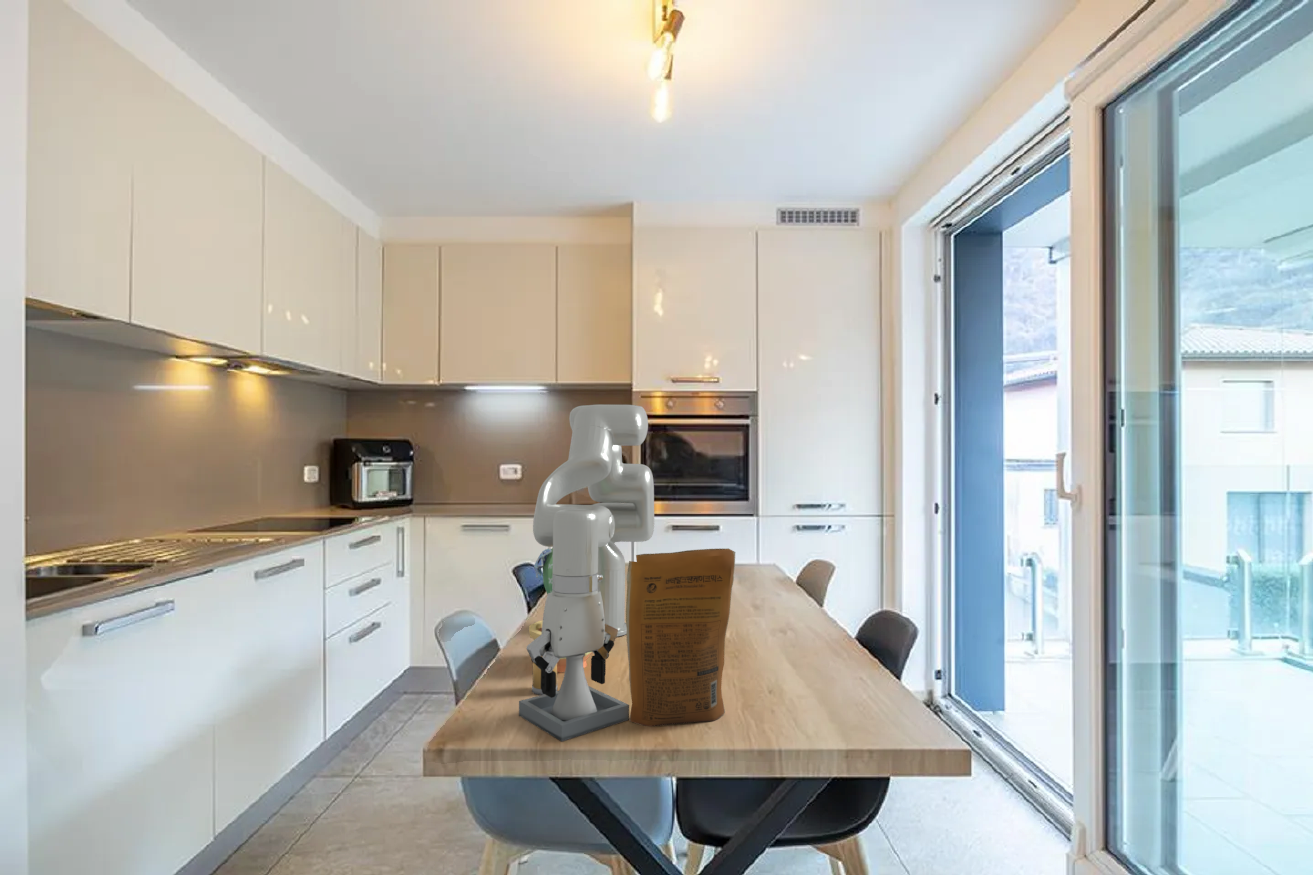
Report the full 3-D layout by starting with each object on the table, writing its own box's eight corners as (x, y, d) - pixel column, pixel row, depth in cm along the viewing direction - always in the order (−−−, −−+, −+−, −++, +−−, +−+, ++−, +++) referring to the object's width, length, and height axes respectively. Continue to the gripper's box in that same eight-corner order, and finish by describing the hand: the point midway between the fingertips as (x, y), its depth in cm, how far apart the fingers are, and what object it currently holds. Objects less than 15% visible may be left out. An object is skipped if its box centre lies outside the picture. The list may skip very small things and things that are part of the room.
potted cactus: (563, 649, 146) (565, 537, 147) (618, 662, 137) (619, 542, 138) (511, 667, 133) (513, 544, 134) (567, 683, 125) (568, 551, 125)
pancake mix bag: (742, 723, 106) (742, 550, 107) (626, 733, 102) (628, 553, 103) (728, 707, 113) (728, 544, 114) (618, 717, 108) (620, 547, 109)
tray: (518, 715, 109) (519, 700, 109) (583, 697, 117) (583, 683, 117) (561, 741, 99) (561, 725, 99) (629, 719, 107) (629, 704, 107)
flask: (572, 702, 113) (573, 644, 114) (604, 712, 109) (605, 651, 109) (542, 715, 107) (543, 654, 108) (575, 726, 103) (576, 662, 103)
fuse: (527, 689, 121) (527, 646, 121) (548, 684, 124) (549, 641, 124) (540, 696, 117) (540, 651, 118) (562, 690, 120) (562, 647, 121)
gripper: (603, 575, 117) (602, 671, 117) (517, 586, 106) (515, 693, 105) (630, 581, 112) (629, 682, 111) (541, 594, 100) (540, 707, 100)
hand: (573, 688), depth 108 cm, fingers open, 9 cm apart
